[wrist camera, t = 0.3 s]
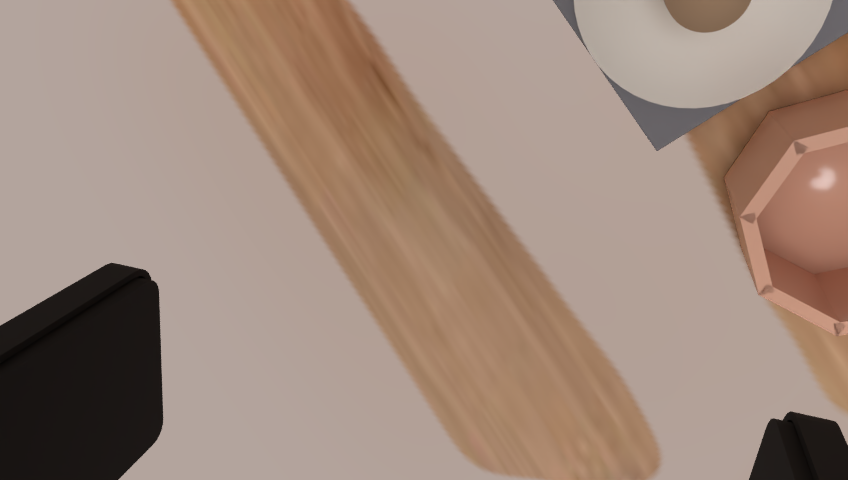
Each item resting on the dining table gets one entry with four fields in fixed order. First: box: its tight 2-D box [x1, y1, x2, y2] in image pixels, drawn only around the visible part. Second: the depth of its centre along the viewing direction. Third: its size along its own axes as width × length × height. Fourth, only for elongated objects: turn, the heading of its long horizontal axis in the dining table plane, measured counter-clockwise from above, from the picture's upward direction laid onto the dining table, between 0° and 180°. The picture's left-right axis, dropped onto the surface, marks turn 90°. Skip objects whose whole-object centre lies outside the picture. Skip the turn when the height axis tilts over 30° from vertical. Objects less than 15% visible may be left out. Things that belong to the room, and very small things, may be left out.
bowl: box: [724, 90, 848, 336], centre depth 32 cm, size 9×9×6 cm
